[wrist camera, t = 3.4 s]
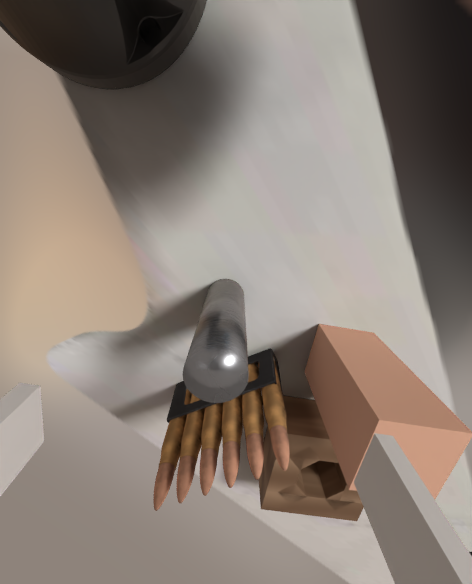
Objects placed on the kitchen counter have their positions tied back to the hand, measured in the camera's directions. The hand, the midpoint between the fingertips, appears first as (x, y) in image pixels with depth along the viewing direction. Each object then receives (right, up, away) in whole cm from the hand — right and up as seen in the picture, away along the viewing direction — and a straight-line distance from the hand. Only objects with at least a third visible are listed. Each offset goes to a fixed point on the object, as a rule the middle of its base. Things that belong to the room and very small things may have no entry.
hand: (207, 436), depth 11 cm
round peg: (0, +5, +15) cm, 16 cm away
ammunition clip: (0, -3, +18) cm, 18 cm away
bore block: (+9, -11, +20) cm, 25 cm away
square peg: (+11, 0, +16) cm, 20 cm away
